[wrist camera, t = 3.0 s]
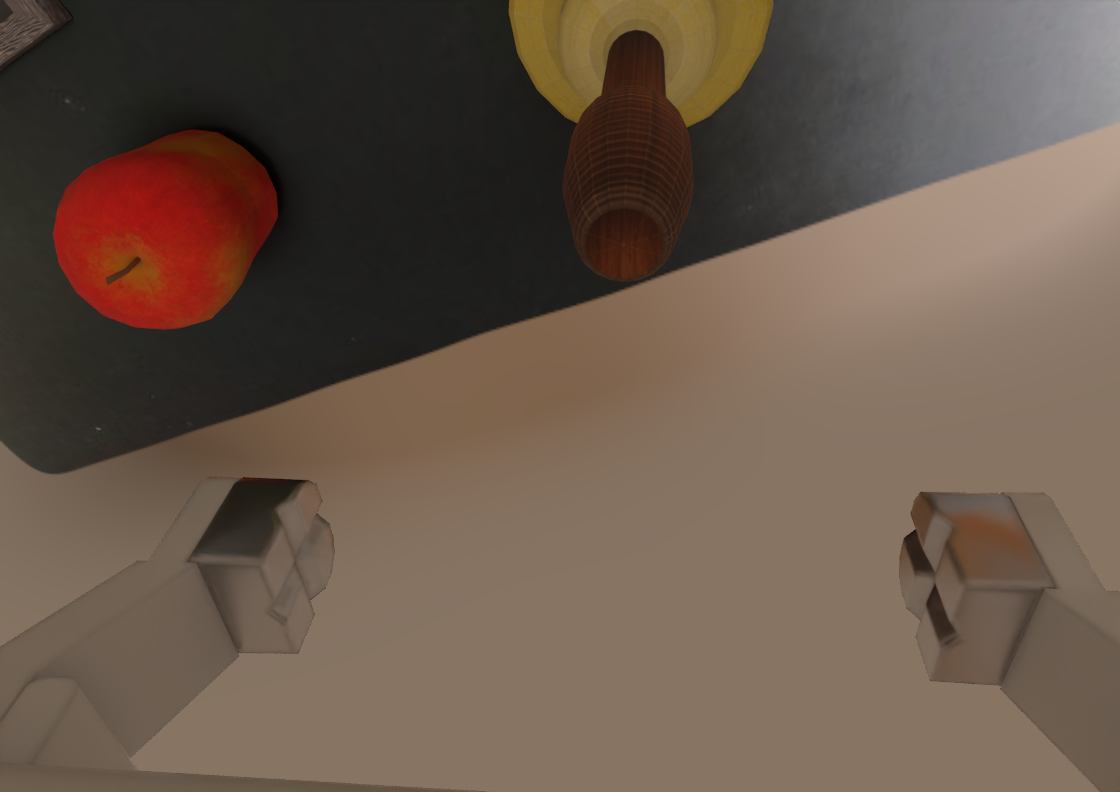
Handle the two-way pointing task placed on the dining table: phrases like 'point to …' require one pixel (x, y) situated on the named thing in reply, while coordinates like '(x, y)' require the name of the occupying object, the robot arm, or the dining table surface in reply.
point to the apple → (165, 229)
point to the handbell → (634, 110)
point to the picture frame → (27, 25)
